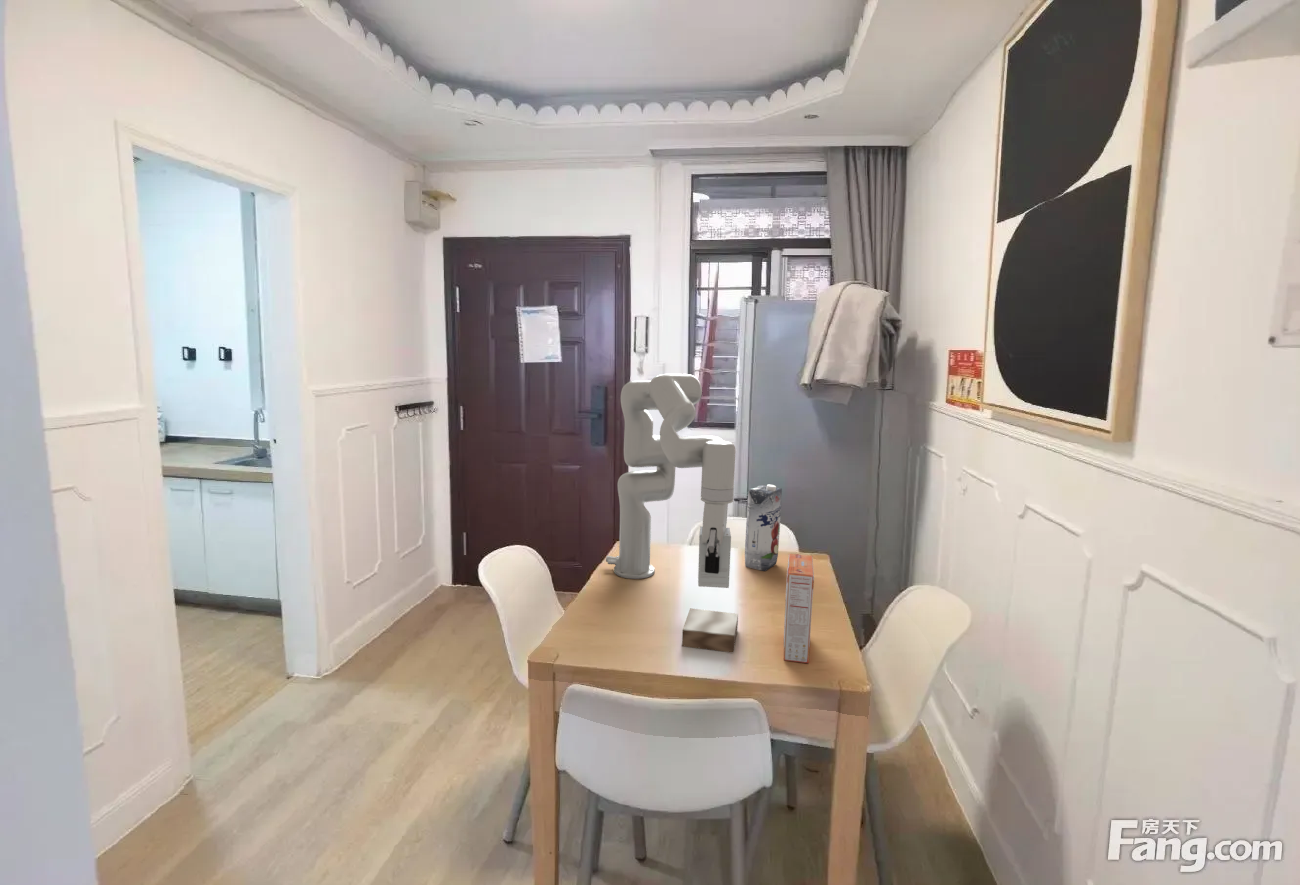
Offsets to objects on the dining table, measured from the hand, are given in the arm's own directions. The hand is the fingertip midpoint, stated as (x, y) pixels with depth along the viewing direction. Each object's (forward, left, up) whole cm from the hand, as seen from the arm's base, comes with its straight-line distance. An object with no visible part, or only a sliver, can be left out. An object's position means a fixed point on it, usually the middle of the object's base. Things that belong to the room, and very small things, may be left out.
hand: (713, 566), depth 148 cm
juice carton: (+10, +55, -18) cm, 59 cm away
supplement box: (0, 0, -4) cm, 4 cm away
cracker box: (+20, 0, -18) cm, 27 cm away
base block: (0, 0, -18) cm, 18 cm away
